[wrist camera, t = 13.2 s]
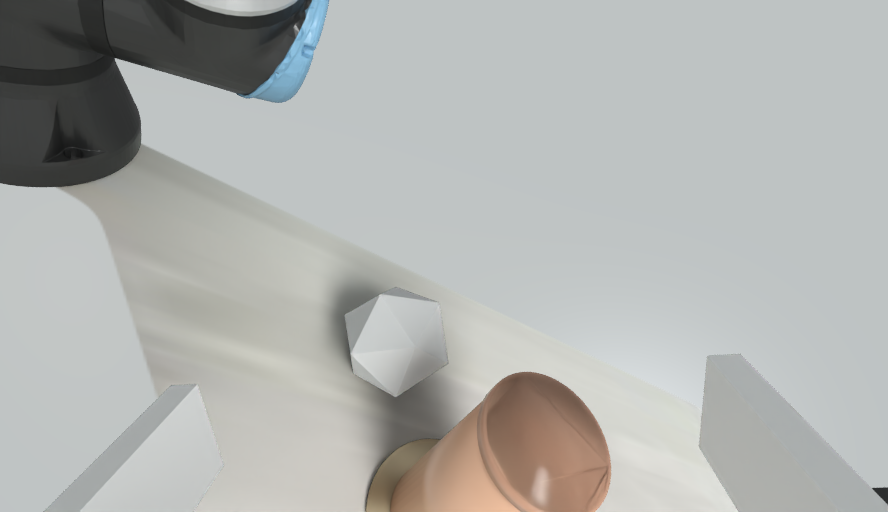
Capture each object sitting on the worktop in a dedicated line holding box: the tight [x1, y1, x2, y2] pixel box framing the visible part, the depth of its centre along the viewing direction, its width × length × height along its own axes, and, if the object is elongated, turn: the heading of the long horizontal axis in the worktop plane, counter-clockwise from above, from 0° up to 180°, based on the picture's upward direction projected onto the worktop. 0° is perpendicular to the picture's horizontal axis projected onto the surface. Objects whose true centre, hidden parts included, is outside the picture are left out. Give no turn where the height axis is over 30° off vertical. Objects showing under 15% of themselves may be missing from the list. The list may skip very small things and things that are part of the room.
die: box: [345, 287, 448, 397], centre depth 40 cm, size 8×9×10 cm
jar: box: [390, 372, 611, 512], centre depth 30 cm, size 8×8×15 cm
